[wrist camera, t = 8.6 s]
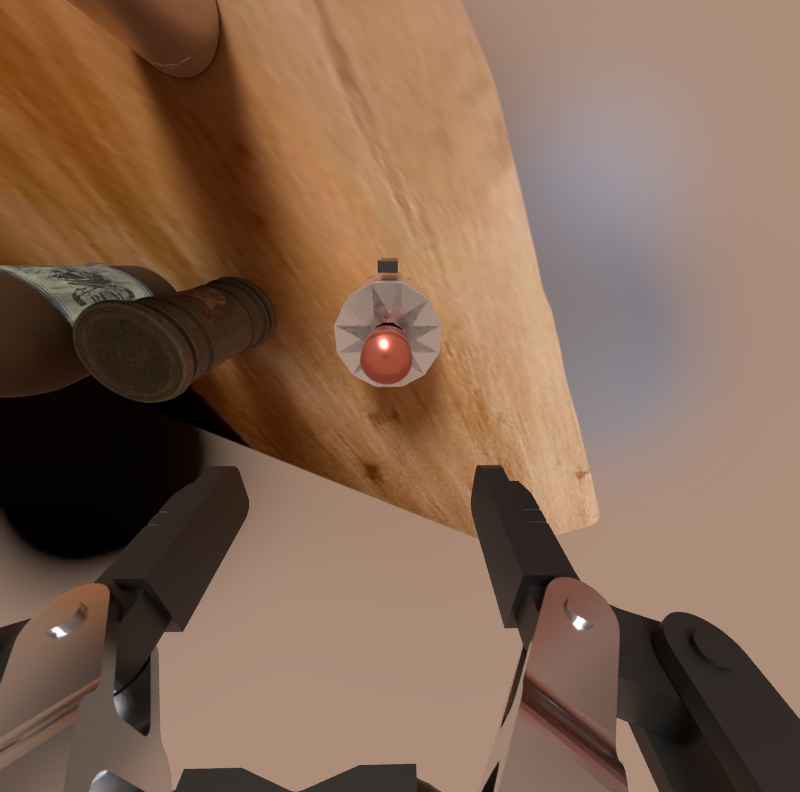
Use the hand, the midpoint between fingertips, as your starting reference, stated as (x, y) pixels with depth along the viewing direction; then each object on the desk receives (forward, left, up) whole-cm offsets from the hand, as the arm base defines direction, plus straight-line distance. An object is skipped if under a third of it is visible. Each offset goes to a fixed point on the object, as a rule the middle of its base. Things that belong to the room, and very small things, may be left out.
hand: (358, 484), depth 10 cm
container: (0, -19, -32) cm, 38 cm away
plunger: (0, +1, -30) cm, 30 cm away
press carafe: (0, +1, -32) cm, 32 cm away
